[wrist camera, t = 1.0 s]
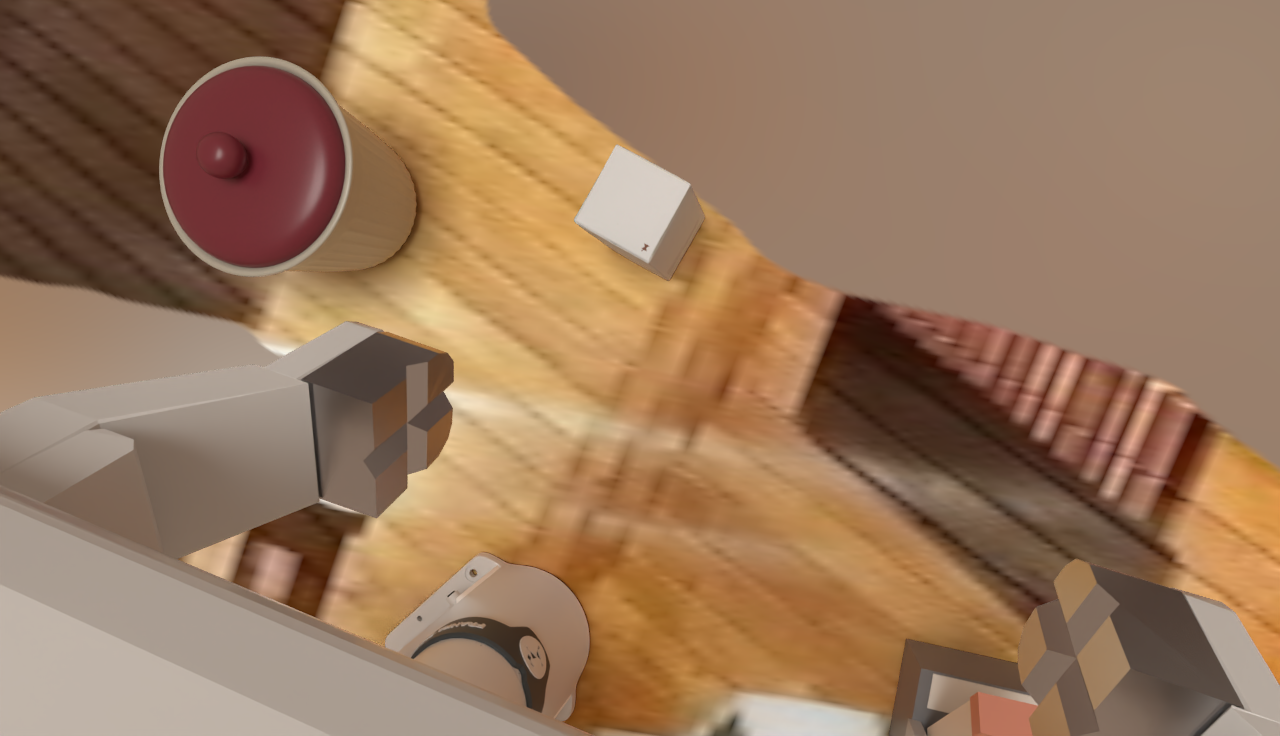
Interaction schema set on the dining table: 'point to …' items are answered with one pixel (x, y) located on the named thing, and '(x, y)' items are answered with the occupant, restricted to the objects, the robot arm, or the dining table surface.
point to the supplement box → (642, 212)
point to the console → (947, 685)
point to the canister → (280, 175)
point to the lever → (986, 718)
